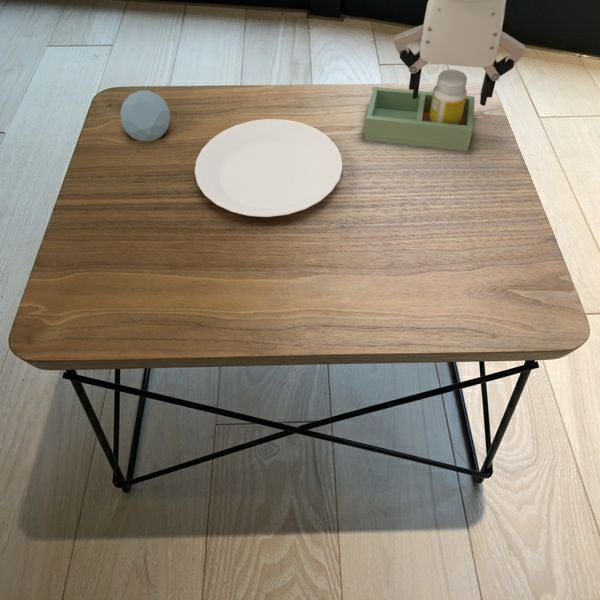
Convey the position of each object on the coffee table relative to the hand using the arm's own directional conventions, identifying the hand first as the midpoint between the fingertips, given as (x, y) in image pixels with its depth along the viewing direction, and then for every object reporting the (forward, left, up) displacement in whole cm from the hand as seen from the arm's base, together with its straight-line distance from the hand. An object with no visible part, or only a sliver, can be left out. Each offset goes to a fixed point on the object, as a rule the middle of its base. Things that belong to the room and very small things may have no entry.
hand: (448, 96), depth 89 cm
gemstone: (+45, +7, -6) cm, 46 cm away
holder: (+4, 0, -6) cm, 7 cm away
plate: (+24, +14, -6) cm, 28 cm away
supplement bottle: (0, 0, -5) cm, 5 cm away
